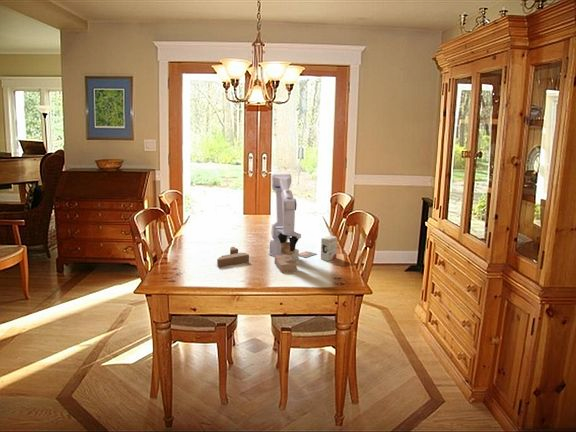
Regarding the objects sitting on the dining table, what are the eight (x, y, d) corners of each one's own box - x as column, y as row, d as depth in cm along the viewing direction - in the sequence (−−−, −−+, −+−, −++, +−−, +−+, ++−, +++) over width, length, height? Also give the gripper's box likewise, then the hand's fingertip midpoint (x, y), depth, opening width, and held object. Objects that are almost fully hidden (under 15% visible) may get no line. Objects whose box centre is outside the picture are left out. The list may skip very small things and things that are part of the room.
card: (295, 255, 269) (295, 254, 269) (306, 251, 276) (306, 251, 276) (305, 257, 264) (305, 257, 264) (316, 254, 272) (316, 253, 272)
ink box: (329, 256, 269) (330, 235, 267) (336, 258, 266) (337, 236, 264) (320, 259, 263) (321, 237, 260) (327, 261, 260) (328, 239, 257)
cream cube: (285, 258, 262) (285, 249, 261) (291, 256, 266) (291, 247, 265) (292, 260, 259) (292, 251, 258) (298, 258, 263) (298, 249, 262)
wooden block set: (250, 252, 253) (219, 257, 243) (250, 263, 254) (219, 268, 244) (235, 244, 267) (204, 249, 256) (234, 254, 268) (204, 259, 258)
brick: (297, 272, 241) (297, 263, 240) (280, 273, 239) (280, 264, 238) (289, 262, 257) (289, 254, 256) (273, 263, 255) (274, 254, 254)
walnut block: (281, 253, 246) (281, 243, 245) (287, 251, 250) (287, 241, 249) (288, 255, 243) (288, 245, 242) (295, 253, 247) (295, 243, 246)
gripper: (272, 222, 245) (271, 248, 248) (294, 226, 236) (294, 254, 239) (281, 220, 250) (281, 245, 253) (304, 224, 241) (303, 251, 244)
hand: (287, 249), depth 246 cm, fingers closed on walnut block, 5 cm apart
